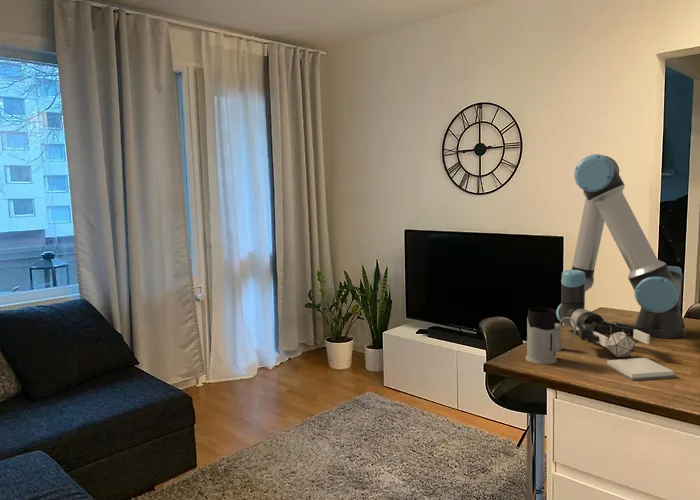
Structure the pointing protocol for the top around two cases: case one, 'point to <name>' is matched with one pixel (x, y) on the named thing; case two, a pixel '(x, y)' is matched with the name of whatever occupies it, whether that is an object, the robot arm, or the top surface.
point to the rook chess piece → (557, 338)
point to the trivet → (640, 369)
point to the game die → (620, 344)
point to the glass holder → (542, 335)
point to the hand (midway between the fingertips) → (627, 341)
